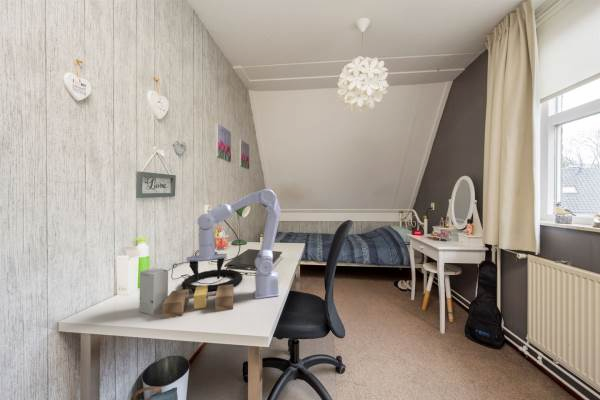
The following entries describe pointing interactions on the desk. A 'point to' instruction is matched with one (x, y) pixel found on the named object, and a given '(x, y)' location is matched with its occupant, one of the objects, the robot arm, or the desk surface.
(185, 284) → the cable lock
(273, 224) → the robot arm
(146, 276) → the skincare box
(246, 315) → the desk surface
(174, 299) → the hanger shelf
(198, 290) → the yellow block
